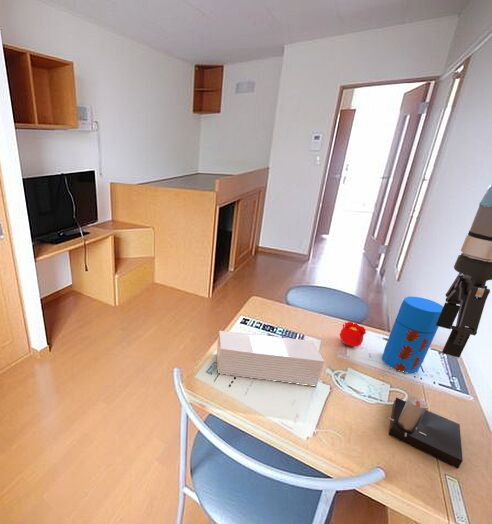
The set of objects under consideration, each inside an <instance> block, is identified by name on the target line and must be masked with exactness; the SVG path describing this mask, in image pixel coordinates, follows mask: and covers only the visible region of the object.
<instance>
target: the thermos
mask: <svg viewBox="0 0 492 524" xmlns="http://www.w3.org/2000/svg"><path fill="white" fill-rule="evenodd" d="M443 306H444V305H442V304H440V303H438V302H436V301H434V300H431V299H428V298H424V297H419V296H406V297H404V299H403V300H402V302H401V304H400V307H399V309H398V312H397V315H396V317H395V321H394V322H393V326H392V327H391V331H390V333H389V336H388V339H387V342H386V343H385V346H384V350H383V352H382V357H381V358H382V361H383V363H384V364H385V365H387V366H388V365H389V366H388V367H389V368H391V367H392V368H391V369H393V368H394V369H393V370H395V369H396V370H395V371H398V370H400V371H404V372H408V373H414V374H416V373H415V372H417V373H418V372H419V370H420V369H421V367H422V364H423V363H424V361H425V358H426V356H427V354H428V352H429V349H430V347H431V346H432V345H431V344H432V342H433V341H434V339H435V336H436V334H437V331H438V329H439V326H436V323H437V320H438V318H439V316H440V313H441V311H442V309H443ZM400 371H399V372H400ZM404 372H403V373H404ZM408 373H407V374H408Z"/></svg>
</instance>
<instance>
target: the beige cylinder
mask: <svg viewBox="0 0 492 524" xmlns="http://www.w3.org/2000/svg"><path fill="white" fill-rule="evenodd" d="M428 408H429V405H428V403H427V402H426V401H425V400H423V399H422V398H420V397H418V396H415V395H410V396H408V397H407V399H406V404H405V406H404V408H403V410H402V413H401V415H400V417H399V419H398V421H397V423H398V425H399V426H400V427H401V428H402V429H403V430H405V431H407V432H410V433H414V432H416V430H417V428H418V426H419V424H420V422H421V420H422V418H423V416H424V413H425V411H426V410H427V409H428Z"/></svg>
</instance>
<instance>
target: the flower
mask: <svg viewBox="0 0 492 524" xmlns="http://www.w3.org/2000/svg"><path fill="white" fill-rule="evenodd" d="M366 334H367V329H366V328H365V327H364V326H362V325H359V324H358V323H357V322H354V323H353V322H352V321H347V322H345V321H344V323H342V328H341V330H340V333H339V338H340V339H341V341H342V343H344V344H345V345H347V346H351V347H360V346H361V345H362V344H363V341H364V335H366Z"/></svg>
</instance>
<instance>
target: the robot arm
mask: <svg viewBox="0 0 492 524" xmlns="http://www.w3.org/2000/svg"><path fill="white" fill-rule="evenodd" d="M460 252H461V253H459V254H458V255H457V258H456V261H455V262H454V265H453V269H454V270H455V271H456V272H457V273H458V274H457V276H456V278H455V279H454V281H453V282H452V284H451V285H450V287H449V288H448V290H447V291H446V293H445V302H444V303H443V305H442V306H443V309H442V311H441V313H440V316H439V318H438V320H437V323H436V326H439V327H440V328H443V329H447V330H451V331H450V333H449V335H448V338H447V340H446V342H445V344H444V346H443V348H442V351H441V353H442V354H445V355H448V356H452V357H455V358H460V357H461V355H462V353H463V351H464V349H465V347H466V345H467V342H468V341H469V339H470V336H476V335H477V334H478V328H479V326H480V322H481V319H482V316H483V312H484V308H485V304H486V303H487V299H488V297H489V295H490V294H491V289H490V288H488V286H487V285H486V284H487V282H488V281H492V184H490V185H489V186H488V188H487V189H486V191H485V192H484V194H483V196H482V199H481V200H480V202H479V203H478V208H477V211H476V214H475V215H474V217H473V221H472V223H471V226H470V229H469V230H468V233H466V236H465V238H464V241H463V243H462V246H461V249H460ZM456 318H457V319H456ZM455 320H456V322H455ZM454 322H455V323H456V324H455V325H454ZM439 327H438V328H439Z"/></svg>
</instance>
